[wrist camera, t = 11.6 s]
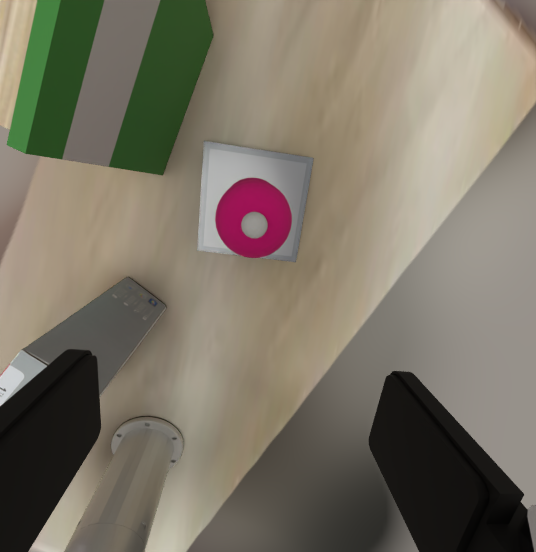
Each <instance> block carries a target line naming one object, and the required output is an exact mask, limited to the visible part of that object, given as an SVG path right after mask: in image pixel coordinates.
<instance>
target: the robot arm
mask: <svg viewBox="0 0 536 552" xmlns="http://www.w3.org/2000/svg"><path fill="white" fill-rule="evenodd" d="M100 429H101V418H100V399H99V381H98V362H97V357H96V356H95V355H92V353H91V351H89V350H79V349H67V350H66V351H64V352H63V353H62V354H61V355H60V356H58V357H57V358H56V359H55V360H54V361H53V362H51V363H50V364H49V365H48V366H47V367H45V368H44V369H43V370H42V371H41V372H40V373H38V374H37V375H36V376H35V377H34V378H33V379H31V380H30V381H29V382H28V383H27V384H26V385H24V386H23V387H22V388H21V389H20V390H19V391H17V392H16V393H15V394H14V395H13V396H12V397H10V398H9V399H8V400H7V401H6V402H5V403H3V404H2V405H1V406H0V552H28V551H29V549H30V548H31V546H32V544H33V543H34V541H35V540H36V538H37V536H38V535H39V533H40V531H41V530H42V528H43V527H44V525H45V523H46V522H47V520H48V518H49V517H50V515H51V514H52V512H53V510H54V509H55V507H56V505H57V504H58V502H59V501H60V499H61V497H62V496H63V494H64V492H65V491H66V489H67V488H68V486H69V484H70V483H71V481H72V479H73V478H74V476H75V475H76V473H77V471H78V470H79V468H80V466H81V465H82V463H83V462H84V460H85V458H86V457H87V455H88V453H89V452H90V450H91V449H92V447H93V445H94V444H95V442H96V440H97V439H98V436H99V433H100ZM183 445H184V443H183V438H182V436H181V434H180V432H179V431H178V430H177V429H176V428H175V427H174V426H173V425H171V424H170V423H168V422H166V421H164V420H162V419H158V418H153V417H139V418H135V419H132V420H129V421H127V422H125V423H124V424H122V425H121V426H120V427H119V428H118V429H117V431H116V432H115V434H114V436H113V438H112V442H111V450H112V453H113V455H114V456H113V458H112V459H111V461H110V463H109V465H108V467H107V469H106V471H105V473H104V475H103V477H102V479H101V481H100V483H99V485H98V487H97V489H96V491H95V492H94V494H93V496H92V498H91V500H90V502H89V504H88V506H87V508H86V510H85V512H84V514H83V516H82V518H81V520H80V522H79V524H78V525H77V527H76V530H75V532H74V533H73V535H72V537H71V539H70V541H69V543H68V545H67V547H66V549H65V551H64V552H145V548H146V545H147V541H148V538H149V535H150V531H151V528H152V524H153V521H154V518H155V514H156V511H157V507H158V504H159V500H160V497H161V494H162V490H163V487H164V483H165V480H166V476H167V473H168V470H169V469H170V468H171V467H173V466H174V465H175V464H176V463H177V462H178V461H179V459H180V457H181V455H182V452H183ZM369 446H370V450H371V452H372V454H373V456H374V458H375V460H376V462H377V464H378V467H379V468H380V471H381V473H382V475H383V477H384V479H385V481H386V483H387V485H388V487H389V490H390V492H391V494H392V496H393V498H394V500H395V502H396V504H397V506H398V508H399V510H400V512H401V515H402V516H403V519H404V520H405V523H406V525H407V527H408V529H409V531H410V533H411V535H412V538H413V540H414V542H415V543H416V546H417V548H418V550H419V552H536V505H532V506H531V507H530V508H529V509H528V510H527V509H526V508H525V507H524V505H523V504H522V503H521V500H522V498H523V496H524V494H523V492H522V491H521V490H520V489H519V488H518V487H517V486H516V485H515V484H514V483H513V481H511V479H510V478H509V477H508V476H507V475H506V474H505V473H504V472H503V471H502V469H501V468H500V467H498V465H497V464H496V463H495V462H494V461H493V460H492V459H491V458H490V456H489V455H488V454H487V453H486V452H485V451H484V450H483V449H482V448H481V447H480V446H479V445H478V444H477V442H476V441H475V440H474V439H473V438H472V437H471V436H470V435H469V434H468V433H467V432H466V431H465V429H464V428H463V427H462V426H461V425H460V424H459V423H458V422H457V421H456V420H455V418H454V417H453V416H452V415H451V414H450V413H449V412H448V411H447V410H446V409H445V408H444V406H443V405H442V404H441V403H440V402H439V401H438V400H437V399H436V398H435V397H434V396H433V395H432V393H431V392H430V391H429V390H428V389H427V388H426V387H425V386H424V385H423V384H422V383H421V382H420V380H419V379H418V378H417V377H416V376H415V375H414V374H413V373H411V372H401V371H393V372H392V373H391V374H390V375H388V376H387V377H386V379H385V383H384V386H383V390H382V393H381V397H380V400H379V404H378V407H377V412H376V414H375V418H374V422H373V425H372V429H371V432H370V436H369Z"/></svg>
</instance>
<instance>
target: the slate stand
mask: <svg viewBox="0 0 536 552" xmlns="http://www.w3.org/2000/svg"><path fill="white" fill-rule="evenodd" d="M312 164H313V158H311V157H304V156H298V155H291V154H285V153H279V152H272V151H266V150H259V149H253V148H247V147H240V146H234V145H227V144H221V143H215V142H208V141H204V149H203V166H202V182H201V199H200V215H199V231H198V248H197V251H205V252H214V253H222V254H231V255H238V254H236V253H235V252H233V251H231V250H230V249H229V248H228V247H227V246H226V245H225V244H224V243H223V241H222V240H221V238H220V236H219V234H218V231H217V228H216V222H215V214H216V209H217V205H218V203H219V201H220V199H221V197H222V196H223V195H224V193H225V192H226V191H227V190H228V189H229V188H230V187H231V186H232V185H233V184H234V183H236V182H237V181H239V180H241V179H245V178H251V177H252V178H260V179H263V180H265V181H267V182H269V183H270V184H271V185H273V186H275V187H276V188H277V189H278V190H280V191H281V193H282V194H283V195H284V196H285V198H286V200H287V201H288V204H289V206H290V209H291V214H292V225H291V230H290V233H289V235H288V237H287V239H286V241H285V242H284V244H283V245H282V246H281V247H280V248H279V249H278V250H276V251H275V252H274V253H272V254H270V255H268V256H264V257H260V258H265V259H274V260H282V261H291V262H296V258H297V253H298V247H299V241H300V235H301V229H302V223H303V217H304V211H305V205H306V200H307V194H308V188H309V182H310V176H311V170H312ZM239 256H241V255H239Z"/></svg>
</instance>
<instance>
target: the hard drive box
mask: <svg viewBox="0 0 536 552" xmlns="http://www.w3.org/2000/svg"><path fill="white" fill-rule="evenodd" d="M165 306H166V305H164V304H163V303H162V302H161V301H159V300H158V299H157V298H155V297H154V296H153V295H151V294H150V293H149V292H147V291H146V290H145V289H143V288H142V287H141V286H140V285H138V284H137V283H136V282H134V281H133V280H132V279H130V278H129V277H126V278H125V279H123V280H122V281H120V282H119V283H117V284H116V285H114V286H113V287H112V288H110V289H109V290H107V291H106V292H104V293H103V294H102V295H100V296H99V297H97V298H96V299H94V300H93V301H92V302H90V303H89V304H87V305H86V306H84V307H83V308H82V309H80V310H79V311H77V312H76V313H74V314H73V315H72V316H70V317H69V318H67V319H66V320H64V321H63V322H62V323H60V324H59V325H57V326H56V327H54V328H53V329H51V330H50V331H49V332H47V333H46V334H44V335H43V336H41V337H40V338H38V339H37V340H35V341H34V342H33V343H31V344H30V345H28V346H27V347H25V348H24V349H21V350H20V352H19V353H18V354H17V356H16V357H15V358H14V359H13V361H12V362H11V363H10V364H9V365H8V367H7V368H6V369H5V370H4V371H3V373H2V374H1V375H0V406H1V405H2V404H3V403H5V402H6V401H7V400H8V399H9V398H10V397H12V396H13V395H14V394H15V393H16V392H17V391H19V390H20V389H21V388H22V387H23V386H24V385H26V384H27V383H28V382H29V381H30V380H31V379H33V378H34V377H35V376H36V375H37V374H38V373H40V372H41V371H42V370H43V369H44V368H45V367H47V366H48V365H49V364H50V363H51V362H53V361H54V360H55V359H56V358H57V357H58V356H60V355H61V354H62V353H63V352H64V351H66V350H67V349H79V350H89V351H91V353H92V355H95V356H96V357H97V362H98V381H99V397H100V396H101V395H102V393H103V392H104V391H105V390H106V388H107V387H108V385H109V384H110V383H111V381H112V380H113V379H114V377H115V376H116V375H117V373H118V372H119V371H120V369H121V368H122V367H123V365H124V364H125V363H126V361H127V360H128V359H129V357H130V356H131V355H132V353H133V352H134V351H135V350H136V348H137V347H138V346H139V344H140V343H141V342H142V340H143V339H144V338H145V336H146V335H147V334H148V332H149V331H150V330H151V328H152V327H153V326H154V324H155V323H156V322H157V320H158V319H159V318H160V316H161V315H162V314H163V312H164V311H165V310H166V307H165Z"/></svg>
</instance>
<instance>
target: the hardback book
mask: <svg viewBox="0 0 536 552" xmlns="http://www.w3.org/2000/svg"><path fill="white" fill-rule="evenodd" d="M212 38H213V31H212V27H211V23H210V19H209V15H208V11H207V6H206V2H205V0H0V126H2V127H5V128H7V129H9V130H10V132H9V137H8V141H7V145H8V146H10V147H13V148H14V149H17V150H19V151H21V152H23V153H25V154H32V155H38V156H44V157H50V158H57V159H63V160H69V161H76V162H82V163H88V164H95V165H101V166H107V167H114V168H120V169H126V170H133V171H139V172H145V173H152V174H158V175H163V173H164V170H165V168H166V165H167V162H168V159H169V157H170V154H171V151H172V148H173V146H174V143H175V140H176V137H177V135H178V132H179V129H180V126H181V124H182V121H183V118H184V115H185V113H186V110H187V107H188V104H189V102H190V99H191V96H192V93H193V91H194V88H195V85H196V82H197V80H198V77H199V74H200V71H201V69H202V66H203V63H204V60H205V58H206V55H207V52H208V49H209V47H210V44H211V41H212Z"/></svg>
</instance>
